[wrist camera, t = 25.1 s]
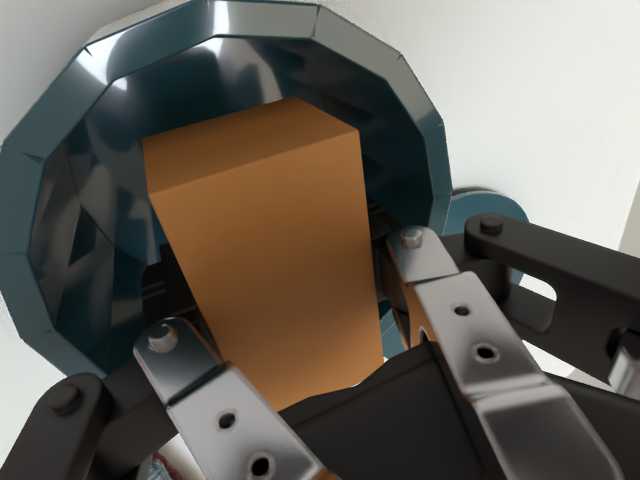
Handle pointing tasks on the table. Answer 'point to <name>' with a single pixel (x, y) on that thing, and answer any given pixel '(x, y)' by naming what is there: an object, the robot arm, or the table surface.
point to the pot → (174, 112)
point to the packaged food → (161, 469)
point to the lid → (456, 218)
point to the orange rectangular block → (274, 243)
